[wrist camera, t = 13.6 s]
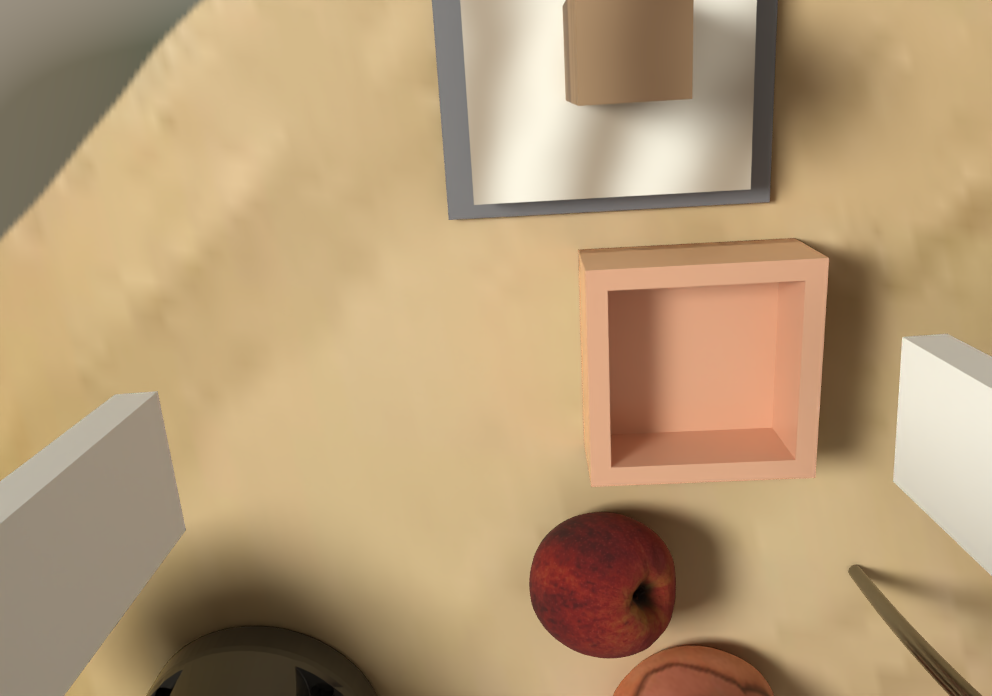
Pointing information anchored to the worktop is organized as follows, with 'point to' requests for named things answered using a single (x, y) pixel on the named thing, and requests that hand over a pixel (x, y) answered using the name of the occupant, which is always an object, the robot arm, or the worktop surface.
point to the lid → (608, 97)
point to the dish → (702, 361)
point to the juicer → (913, 638)
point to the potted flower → (693, 675)
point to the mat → (464, 208)
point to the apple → (603, 585)
